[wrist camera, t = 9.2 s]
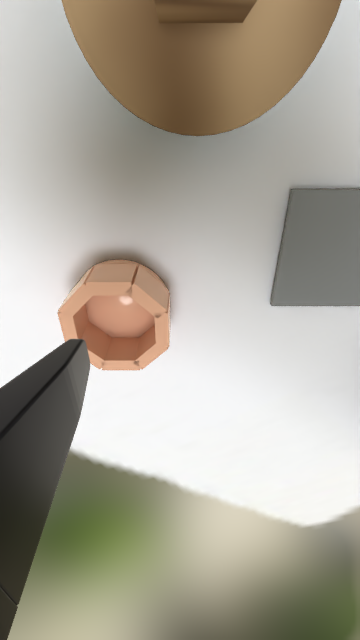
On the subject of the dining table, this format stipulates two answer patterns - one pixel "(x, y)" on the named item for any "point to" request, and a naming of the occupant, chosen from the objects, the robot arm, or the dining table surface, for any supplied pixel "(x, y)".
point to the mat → (320, 250)
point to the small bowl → (118, 315)
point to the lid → (200, 55)
